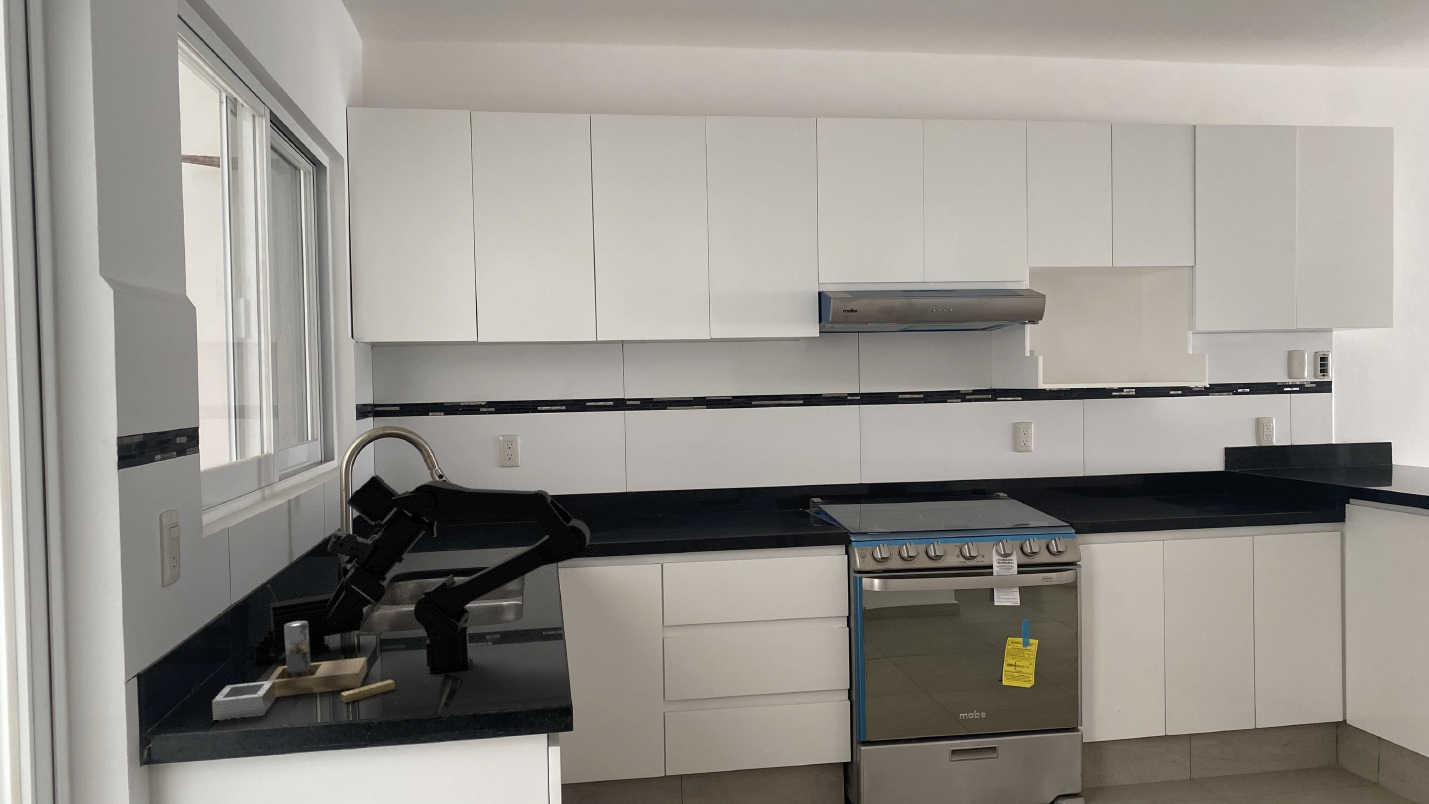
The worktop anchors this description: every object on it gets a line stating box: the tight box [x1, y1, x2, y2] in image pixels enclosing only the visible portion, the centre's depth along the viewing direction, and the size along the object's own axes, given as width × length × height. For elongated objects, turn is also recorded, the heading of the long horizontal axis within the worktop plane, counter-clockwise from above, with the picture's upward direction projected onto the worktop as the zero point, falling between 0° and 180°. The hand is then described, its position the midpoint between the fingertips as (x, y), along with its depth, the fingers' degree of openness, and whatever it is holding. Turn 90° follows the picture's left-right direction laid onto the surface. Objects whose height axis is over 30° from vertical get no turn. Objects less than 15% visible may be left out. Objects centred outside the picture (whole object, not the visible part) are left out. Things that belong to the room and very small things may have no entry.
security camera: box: [254, 592, 364, 664], centre depth 168 cm, size 7×18×10 cm, turn 121°
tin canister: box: [284, 621, 312, 678], centre depth 149 cm, size 4×4×10 cm
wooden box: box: [267, 657, 368, 698], centre depth 150 cm, size 14×8×2 cm, turn 102°
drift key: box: [340, 679, 396, 704], centre depth 144 cm, size 8×2×1 cm, turn 132°
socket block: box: [211, 680, 277, 722], centre depth 140 cm, size 7×7×3 cm
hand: (328, 615), depth 151 cm, fingers open, 9 cm apart
